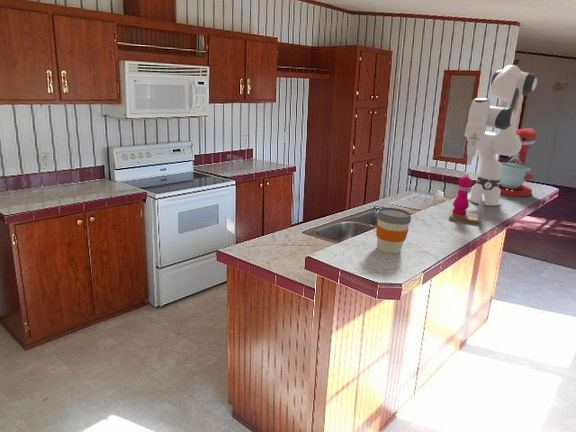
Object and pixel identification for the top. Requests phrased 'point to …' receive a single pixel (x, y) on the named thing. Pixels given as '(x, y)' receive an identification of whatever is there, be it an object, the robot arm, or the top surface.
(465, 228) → the top surface
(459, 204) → the pepper mill
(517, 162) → the stand mixer
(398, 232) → the reusable coffee cup
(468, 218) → the bookend
